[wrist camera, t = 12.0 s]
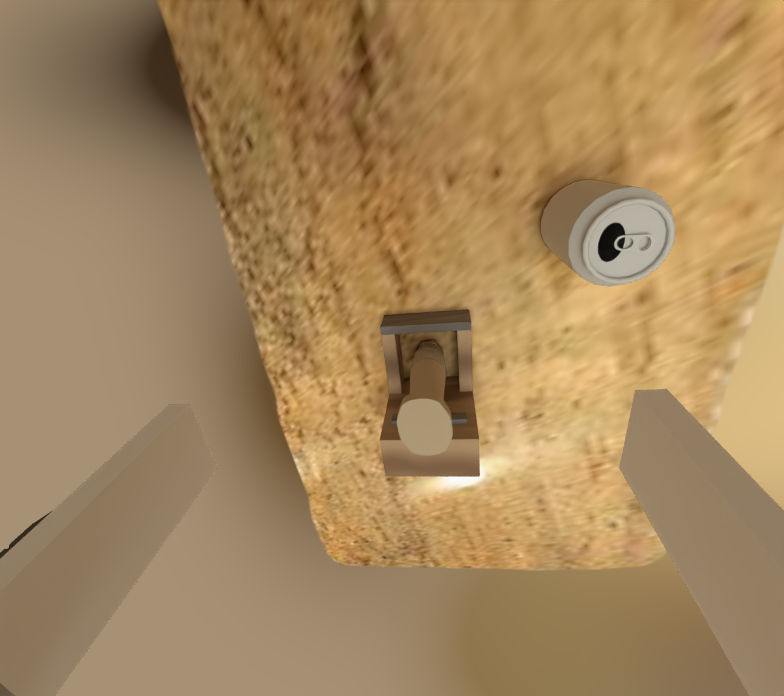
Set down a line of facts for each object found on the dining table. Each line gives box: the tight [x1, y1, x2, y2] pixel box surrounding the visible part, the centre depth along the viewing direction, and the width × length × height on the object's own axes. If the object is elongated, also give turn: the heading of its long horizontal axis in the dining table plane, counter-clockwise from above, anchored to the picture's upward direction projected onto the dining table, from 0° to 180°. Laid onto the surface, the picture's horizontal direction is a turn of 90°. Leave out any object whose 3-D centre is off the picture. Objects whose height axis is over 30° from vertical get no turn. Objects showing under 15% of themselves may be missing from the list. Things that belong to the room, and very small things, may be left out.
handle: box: [397, 340, 453, 456], centre depth 40 cm, size 5×6×15 cm
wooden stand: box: [380, 310, 480, 476], centre depth 42 cm, size 14×10×12 cm
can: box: [541, 180, 675, 286], centre depth 33 cm, size 8×8×12 cm
